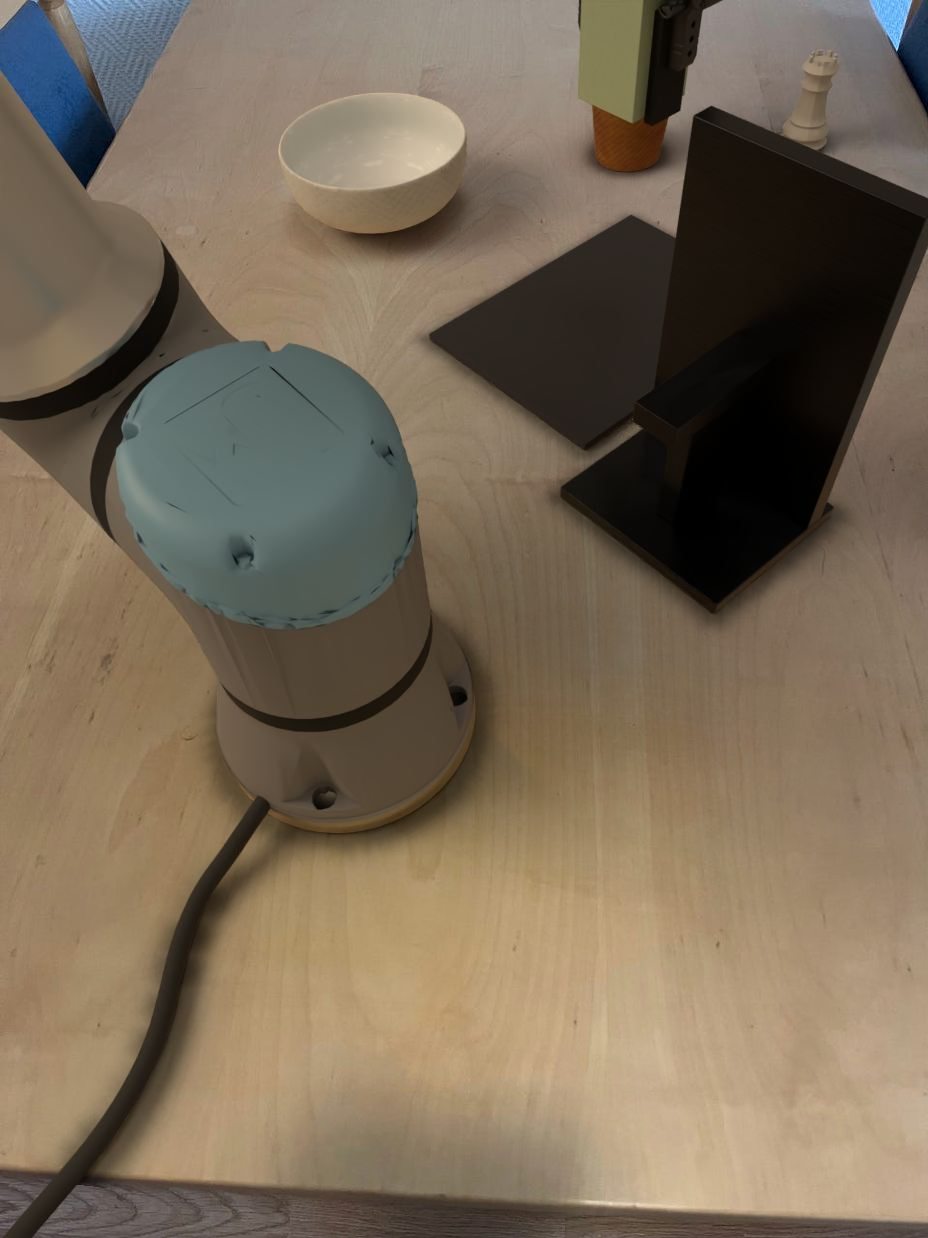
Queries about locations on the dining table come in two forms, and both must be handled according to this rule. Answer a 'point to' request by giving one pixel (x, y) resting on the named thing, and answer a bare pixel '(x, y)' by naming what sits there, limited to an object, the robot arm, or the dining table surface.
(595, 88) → the sage block
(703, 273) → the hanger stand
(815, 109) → the rook chess piece
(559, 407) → the desk mat
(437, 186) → the cereal bowl
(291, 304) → the dining table surface
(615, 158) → the disposable coffee cup
